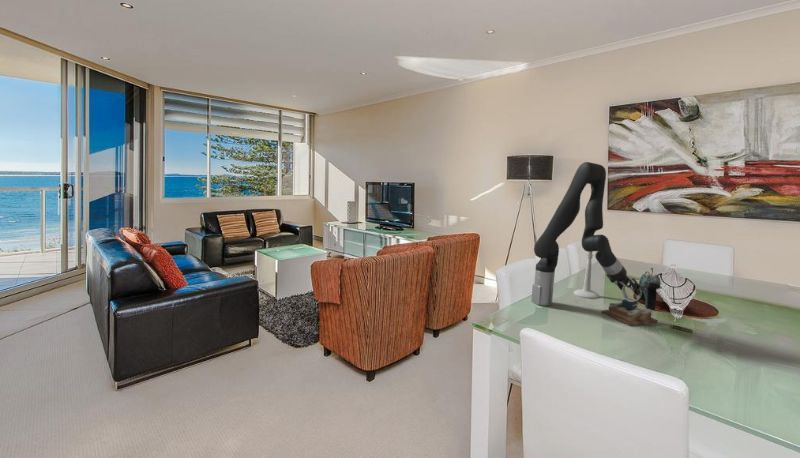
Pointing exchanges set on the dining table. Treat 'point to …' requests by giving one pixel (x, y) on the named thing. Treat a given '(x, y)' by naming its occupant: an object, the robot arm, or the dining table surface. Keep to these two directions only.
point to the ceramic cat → (649, 289)
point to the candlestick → (587, 282)
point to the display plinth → (649, 321)
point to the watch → (629, 302)
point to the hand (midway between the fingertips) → (630, 291)
